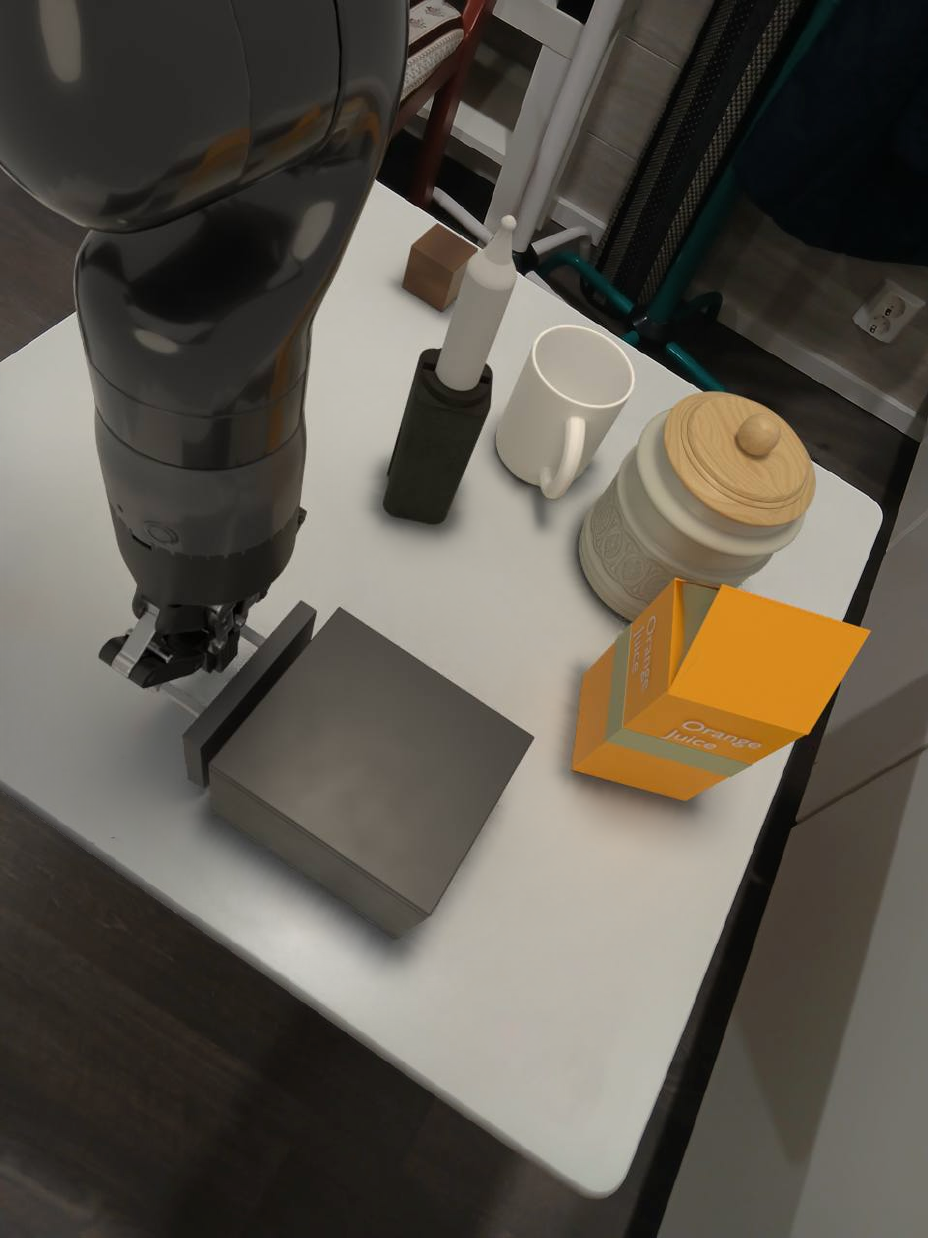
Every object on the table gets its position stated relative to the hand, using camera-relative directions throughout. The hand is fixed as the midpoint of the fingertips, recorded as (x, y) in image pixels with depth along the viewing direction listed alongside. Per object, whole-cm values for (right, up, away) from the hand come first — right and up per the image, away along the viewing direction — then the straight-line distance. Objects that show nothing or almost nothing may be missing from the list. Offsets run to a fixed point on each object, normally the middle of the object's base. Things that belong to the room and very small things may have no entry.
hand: (213, 656), depth 47 cm
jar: (+30, +7, +20) cm, 36 cm away
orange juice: (+27, -7, +12) cm, 30 cm away
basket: (+3, -6, +5) cm, 8 cm away
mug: (+21, +15, +22) cm, 34 cm away
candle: (+11, +12, +18) cm, 24 cm away
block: (+12, +33, +29) cm, 46 cm away
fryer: (+8, -9, +5) cm, 13 cm away
